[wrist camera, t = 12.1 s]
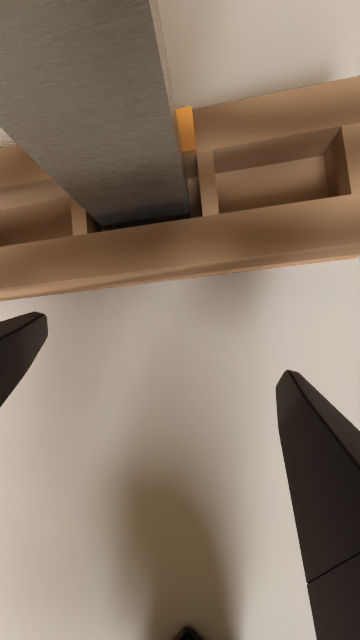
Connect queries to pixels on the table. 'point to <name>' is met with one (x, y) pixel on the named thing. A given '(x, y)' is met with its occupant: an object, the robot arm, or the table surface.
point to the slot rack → (202, 200)
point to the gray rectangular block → (95, 105)
